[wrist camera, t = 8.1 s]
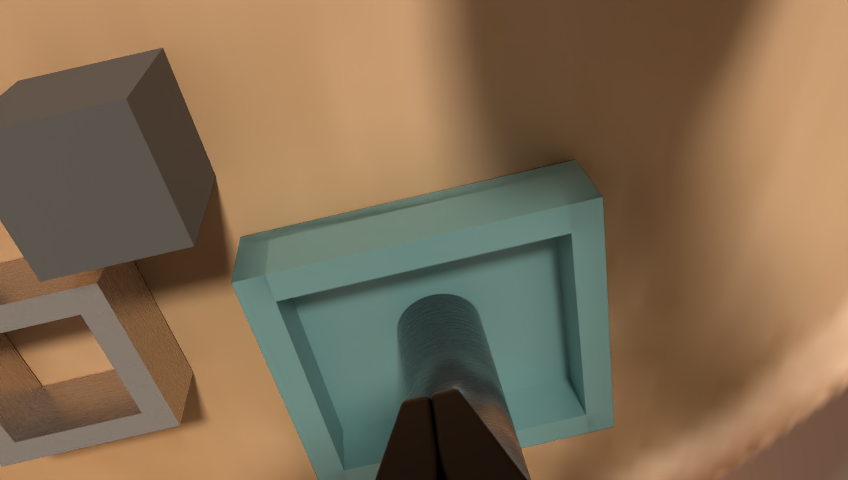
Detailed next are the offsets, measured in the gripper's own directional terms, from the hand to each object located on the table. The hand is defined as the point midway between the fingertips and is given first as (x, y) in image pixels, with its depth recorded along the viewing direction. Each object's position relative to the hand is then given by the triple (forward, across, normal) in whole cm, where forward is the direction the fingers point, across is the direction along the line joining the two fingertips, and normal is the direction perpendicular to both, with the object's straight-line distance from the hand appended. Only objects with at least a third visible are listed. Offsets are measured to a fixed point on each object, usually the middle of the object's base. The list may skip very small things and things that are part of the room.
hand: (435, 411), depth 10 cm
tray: (+12, 0, +8) cm, 14 cm away
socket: (+12, +12, +5) cm, 17 cm away
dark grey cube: (+12, +7, -1) cm, 14 cm away
